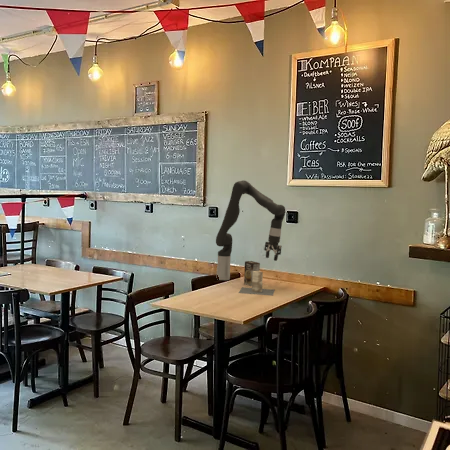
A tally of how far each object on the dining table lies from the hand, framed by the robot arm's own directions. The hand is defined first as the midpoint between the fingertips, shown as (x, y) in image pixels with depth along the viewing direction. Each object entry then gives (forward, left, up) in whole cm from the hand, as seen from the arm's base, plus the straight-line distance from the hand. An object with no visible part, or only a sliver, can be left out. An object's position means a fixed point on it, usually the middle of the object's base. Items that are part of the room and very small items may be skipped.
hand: (271, 259), depth 311 cm
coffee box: (-14, +11, -21) cm, 27 cm away
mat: (-8, -8, -21) cm, 24 cm away
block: (-8, -8, -20) cm, 23 cm away
